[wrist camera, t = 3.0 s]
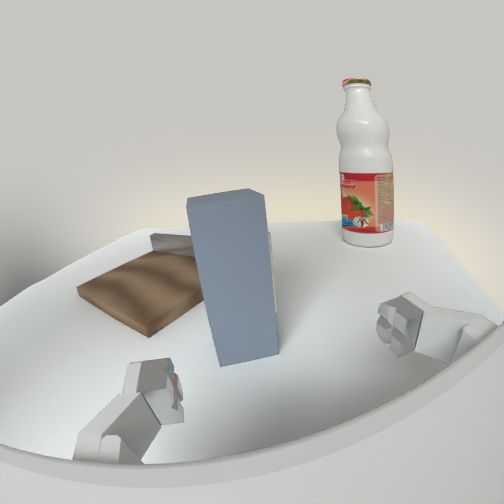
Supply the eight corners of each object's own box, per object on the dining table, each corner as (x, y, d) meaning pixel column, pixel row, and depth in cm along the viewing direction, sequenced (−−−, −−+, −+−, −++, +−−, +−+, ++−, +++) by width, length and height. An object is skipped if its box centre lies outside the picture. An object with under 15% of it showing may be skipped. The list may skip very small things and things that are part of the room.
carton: (220, 366, 21) (186, 207, 17) (214, 333, 26) (187, 198, 21) (282, 352, 22) (268, 194, 17) (267, 322, 26) (252, 187, 22)
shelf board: (148, 337, 25) (135, 299, 24) (79, 295, 36) (70, 269, 35) (247, 269, 40) (243, 239, 38) (160, 255, 50) (156, 232, 49)
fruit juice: (400, 246, 40) (390, 76, 31) (348, 250, 42) (334, 72, 32) (382, 230, 49) (373, 87, 40) (337, 233, 51) (325, 86, 41)
